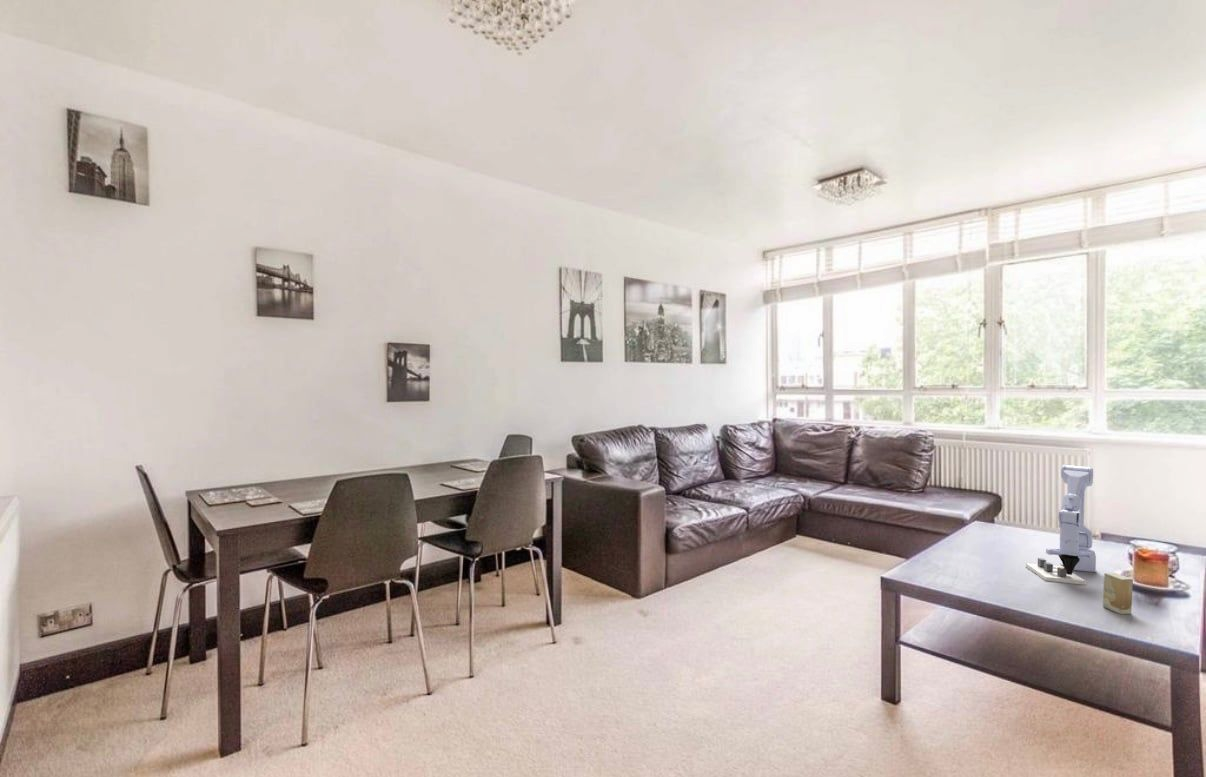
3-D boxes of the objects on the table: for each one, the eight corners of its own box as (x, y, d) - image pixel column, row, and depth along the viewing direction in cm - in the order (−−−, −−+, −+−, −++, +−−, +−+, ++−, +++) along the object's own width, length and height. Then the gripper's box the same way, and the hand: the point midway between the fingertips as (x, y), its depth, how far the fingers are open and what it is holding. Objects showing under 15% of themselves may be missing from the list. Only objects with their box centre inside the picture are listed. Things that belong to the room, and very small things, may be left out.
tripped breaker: (1063, 575, 215) (1063, 567, 215) (1066, 577, 213) (1066, 569, 213) (1057, 574, 216) (1057, 566, 216) (1060, 576, 213) (1060, 568, 213)
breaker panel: (1062, 570, 226) (1062, 559, 226) (1085, 584, 210) (1085, 572, 210) (1025, 566, 230) (1026, 555, 230) (1045, 580, 213) (1045, 568, 213)
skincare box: (1102, 606, 189) (1102, 572, 188) (1113, 606, 189) (1114, 572, 189) (1121, 614, 182) (1121, 579, 182) (1132, 614, 183) (1133, 578, 182)
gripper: (1052, 541, 212) (1051, 575, 212) (1097, 544, 207) (1096, 579, 208) (1043, 536, 218) (1043, 569, 219) (1086, 539, 214) (1086, 573, 214)
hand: (1068, 573), depth 214 cm, fingers closed
